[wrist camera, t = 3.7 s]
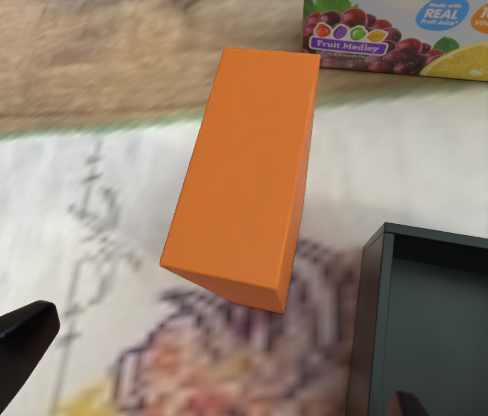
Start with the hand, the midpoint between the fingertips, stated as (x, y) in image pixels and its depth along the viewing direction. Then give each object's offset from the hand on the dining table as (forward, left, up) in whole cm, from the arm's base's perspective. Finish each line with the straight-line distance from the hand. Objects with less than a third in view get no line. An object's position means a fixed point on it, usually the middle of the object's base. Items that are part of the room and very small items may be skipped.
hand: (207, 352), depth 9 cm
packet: (+5, 0, -12) cm, 13 cm away
